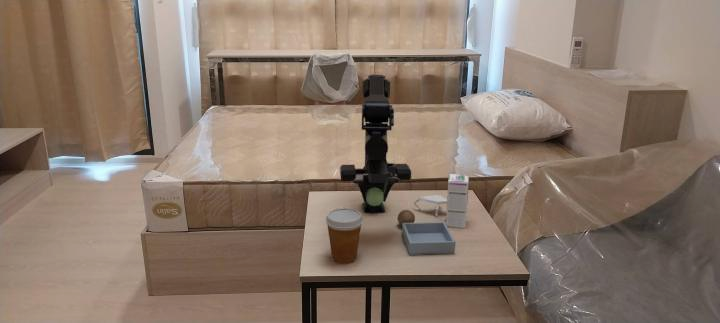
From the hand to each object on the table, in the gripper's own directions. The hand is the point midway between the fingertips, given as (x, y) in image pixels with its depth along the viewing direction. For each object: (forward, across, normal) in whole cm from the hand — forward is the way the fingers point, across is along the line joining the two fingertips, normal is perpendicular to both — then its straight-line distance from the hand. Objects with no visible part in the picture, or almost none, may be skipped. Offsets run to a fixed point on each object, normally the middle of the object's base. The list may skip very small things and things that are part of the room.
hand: (374, 201), depth 146 cm
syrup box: (+10, +25, +6) cm, 28 cm away
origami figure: (+11, +20, +15) cm, 27 cm away
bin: (+10, +14, -6) cm, 18 cm away
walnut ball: (+10, +10, +5) cm, 15 cm away
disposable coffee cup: (+10, -9, -12) cm, 18 cm away
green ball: (+1, 0, 0) cm, 1 cm away
